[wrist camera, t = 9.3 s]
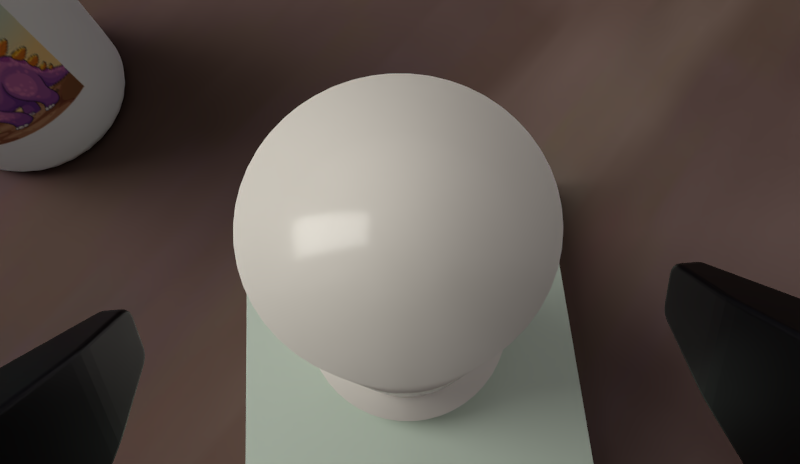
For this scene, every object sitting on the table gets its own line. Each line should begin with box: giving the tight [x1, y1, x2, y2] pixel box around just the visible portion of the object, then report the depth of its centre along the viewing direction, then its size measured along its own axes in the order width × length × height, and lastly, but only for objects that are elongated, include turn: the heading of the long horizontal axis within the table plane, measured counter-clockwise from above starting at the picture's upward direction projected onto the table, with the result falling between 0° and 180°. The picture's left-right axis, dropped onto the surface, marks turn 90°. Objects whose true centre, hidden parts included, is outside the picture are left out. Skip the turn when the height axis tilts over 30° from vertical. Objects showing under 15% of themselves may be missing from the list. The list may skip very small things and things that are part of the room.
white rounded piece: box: [233, 74, 563, 421], centre depth 14 cm, size 6×6×11 cm
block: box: [246, 265, 593, 464], centre depth 20 cm, size 11×11×2 cm
